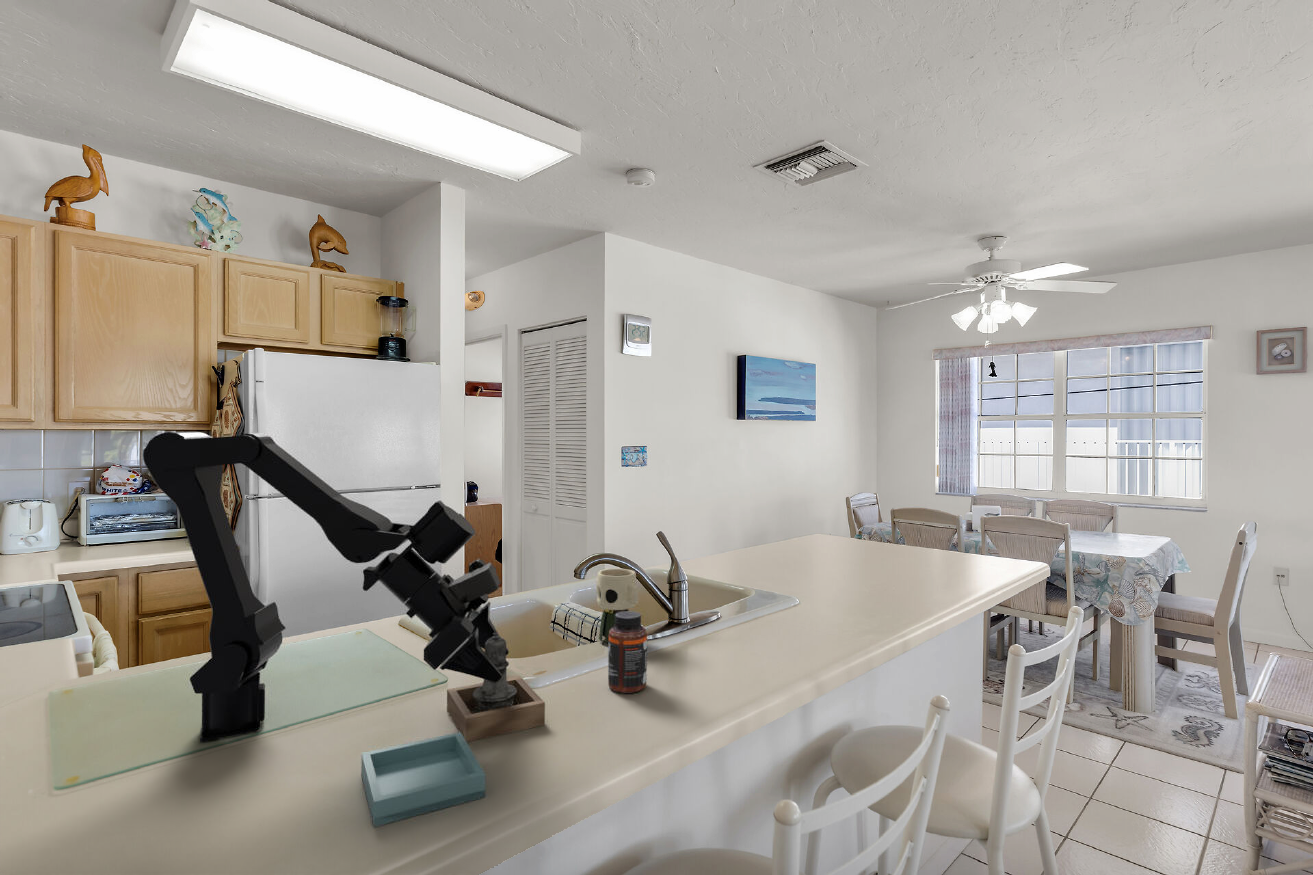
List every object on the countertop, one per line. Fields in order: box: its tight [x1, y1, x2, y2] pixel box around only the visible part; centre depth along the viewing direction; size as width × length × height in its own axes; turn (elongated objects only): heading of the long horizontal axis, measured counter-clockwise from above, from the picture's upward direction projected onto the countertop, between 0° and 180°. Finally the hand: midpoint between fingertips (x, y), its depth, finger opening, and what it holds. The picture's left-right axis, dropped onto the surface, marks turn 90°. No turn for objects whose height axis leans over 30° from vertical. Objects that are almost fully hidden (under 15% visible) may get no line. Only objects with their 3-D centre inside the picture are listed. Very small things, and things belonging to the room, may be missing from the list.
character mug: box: [596, 568, 639, 644], centre depth 123 cm, size 11×7×13 cm, turn 46°
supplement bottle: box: [607, 610, 648, 694], centre depth 102 cm, size 6×6×11 cm
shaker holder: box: [446, 676, 546, 743], centre depth 90 cm, size 10×10×3 cm
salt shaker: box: [473, 630, 517, 712], centre depth 90 cm, size 6×6×12 cm
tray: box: [360, 731, 486, 828], centre depth 73 cm, size 11×11×2 cm
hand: (503, 666), depth 90 cm, fingers open, 9 cm apart
